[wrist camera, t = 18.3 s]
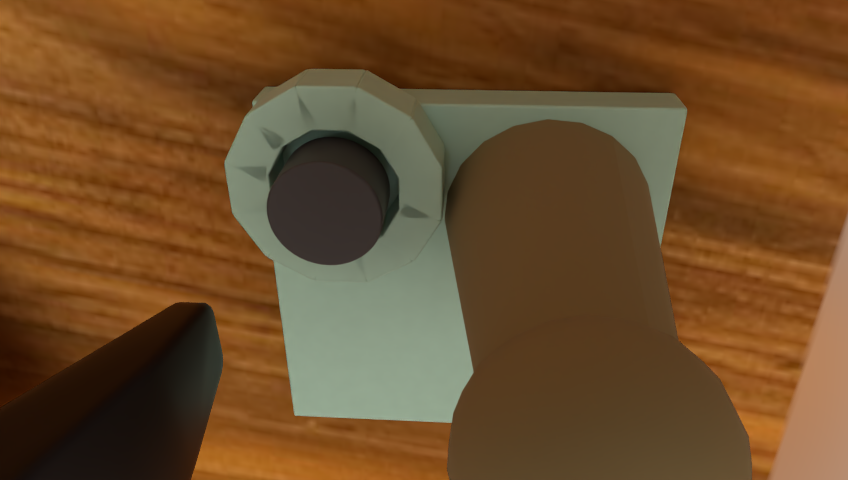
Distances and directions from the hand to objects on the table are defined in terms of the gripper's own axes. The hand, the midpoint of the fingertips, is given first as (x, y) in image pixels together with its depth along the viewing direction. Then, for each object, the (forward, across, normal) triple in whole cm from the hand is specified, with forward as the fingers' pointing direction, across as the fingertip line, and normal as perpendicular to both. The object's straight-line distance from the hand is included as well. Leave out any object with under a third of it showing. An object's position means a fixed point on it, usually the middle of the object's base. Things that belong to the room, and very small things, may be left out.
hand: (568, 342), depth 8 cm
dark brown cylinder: (+10, +5, +3) cm, 12 cm away
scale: (+13, +2, +7) cm, 14 cm away
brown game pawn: (+12, -1, +4) cm, 12 cm away
